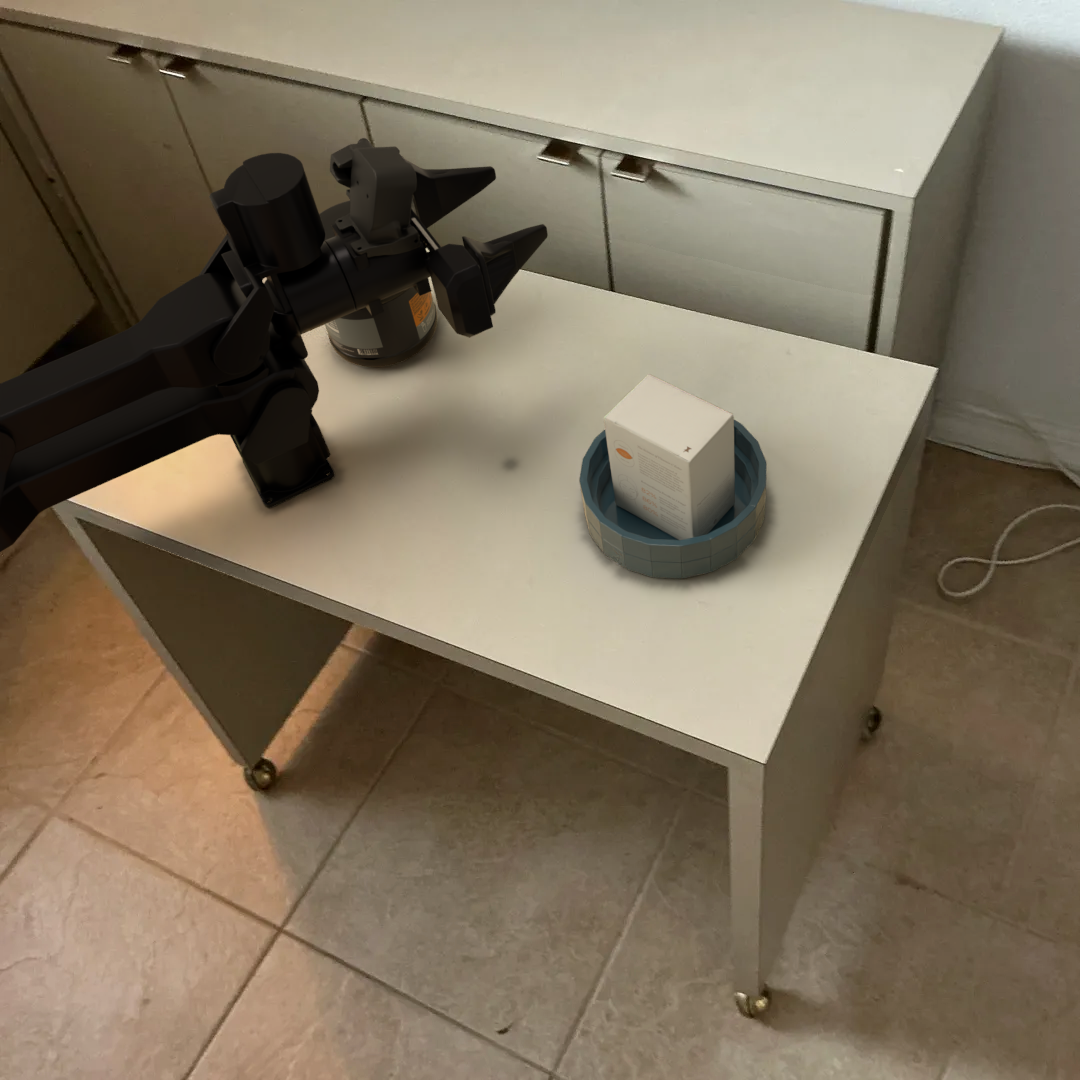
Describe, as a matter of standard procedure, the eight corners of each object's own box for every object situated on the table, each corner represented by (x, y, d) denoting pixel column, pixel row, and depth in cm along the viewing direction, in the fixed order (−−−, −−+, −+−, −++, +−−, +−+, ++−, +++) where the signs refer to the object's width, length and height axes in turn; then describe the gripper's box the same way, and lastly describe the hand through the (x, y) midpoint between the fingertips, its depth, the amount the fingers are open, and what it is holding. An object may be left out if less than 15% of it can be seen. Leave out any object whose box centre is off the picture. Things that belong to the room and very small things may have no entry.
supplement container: (453, 299, 108) (427, 195, 99) (422, 377, 103) (391, 274, 93) (352, 293, 111) (318, 191, 101) (316, 369, 105) (276, 268, 96)
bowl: (644, 610, 84) (640, 576, 81) (555, 488, 93) (548, 453, 89) (801, 527, 87) (804, 490, 84) (701, 416, 95) (700, 378, 92)
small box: (736, 505, 89) (737, 414, 80) (694, 551, 87) (691, 463, 78) (655, 461, 93) (648, 370, 84) (613, 505, 90) (601, 415, 82)
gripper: (357, 256, 75) (564, 169, 77) (268, 127, 85) (452, 55, 88) (395, 376, 83) (579, 294, 86) (310, 245, 94) (476, 176, 97)
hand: (519, 200), depth 89 cm, fingers open, 9 cm apart
